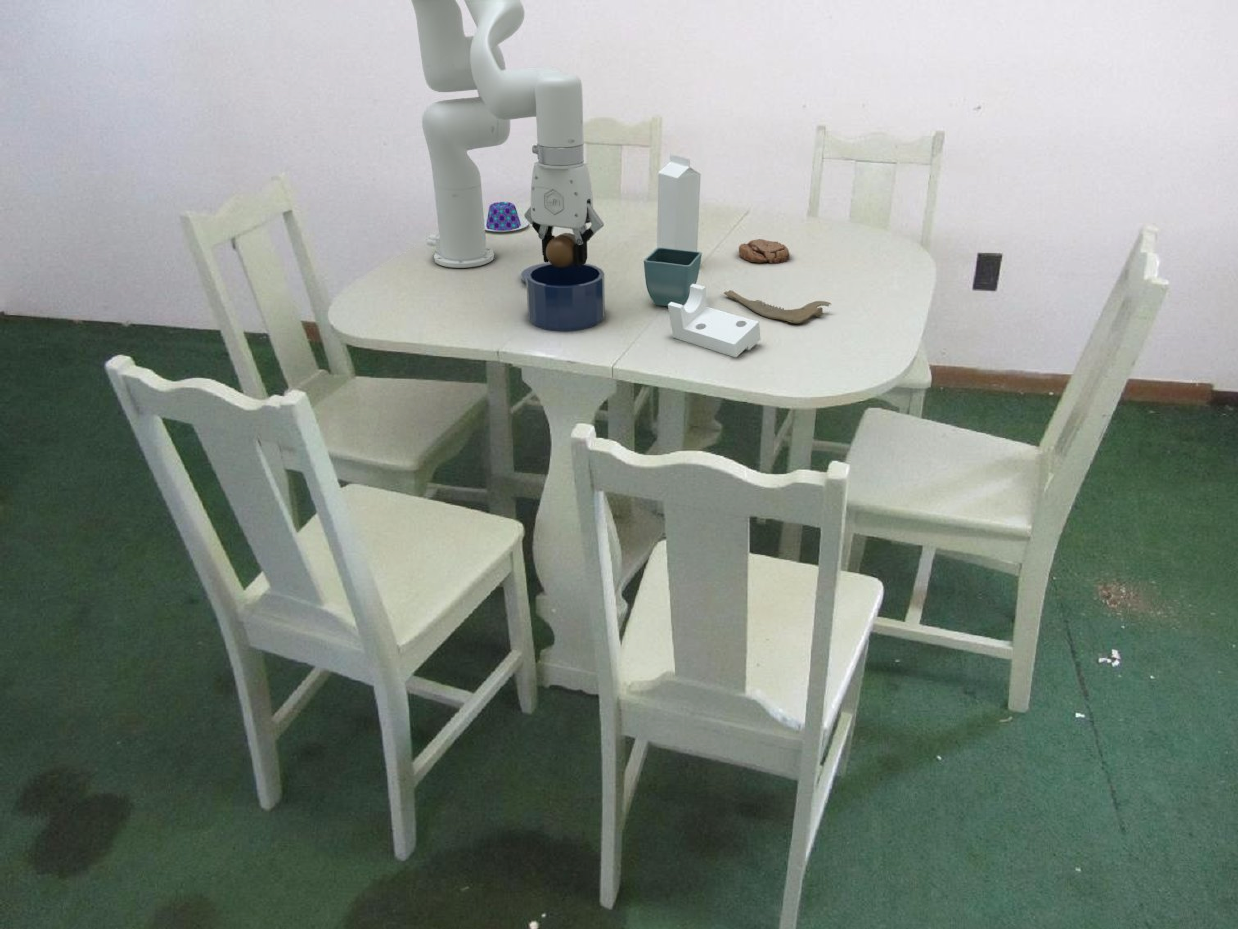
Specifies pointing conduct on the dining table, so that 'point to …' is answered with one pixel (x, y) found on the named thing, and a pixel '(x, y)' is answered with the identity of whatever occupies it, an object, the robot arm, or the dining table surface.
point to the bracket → (711, 325)
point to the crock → (565, 297)
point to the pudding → (503, 218)
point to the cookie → (764, 251)
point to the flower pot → (671, 274)
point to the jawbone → (779, 313)
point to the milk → (678, 205)
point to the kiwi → (561, 250)
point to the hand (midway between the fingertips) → (564, 261)
